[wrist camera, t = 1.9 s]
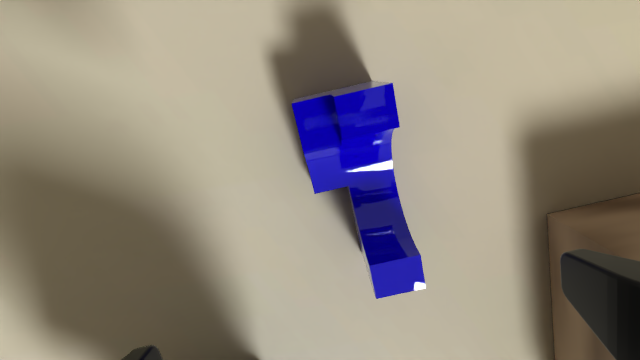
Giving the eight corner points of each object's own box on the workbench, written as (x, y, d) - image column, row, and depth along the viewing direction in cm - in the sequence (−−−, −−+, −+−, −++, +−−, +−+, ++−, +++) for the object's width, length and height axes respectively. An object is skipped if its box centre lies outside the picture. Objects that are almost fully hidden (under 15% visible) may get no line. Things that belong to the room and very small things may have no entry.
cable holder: (293, 98, 16) (289, 106, 12) (371, 80, 16) (392, 82, 12) (331, 257, 18) (339, 306, 14) (400, 242, 18) (425, 287, 14)
